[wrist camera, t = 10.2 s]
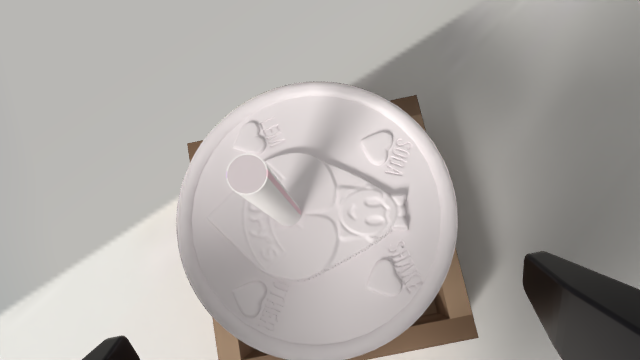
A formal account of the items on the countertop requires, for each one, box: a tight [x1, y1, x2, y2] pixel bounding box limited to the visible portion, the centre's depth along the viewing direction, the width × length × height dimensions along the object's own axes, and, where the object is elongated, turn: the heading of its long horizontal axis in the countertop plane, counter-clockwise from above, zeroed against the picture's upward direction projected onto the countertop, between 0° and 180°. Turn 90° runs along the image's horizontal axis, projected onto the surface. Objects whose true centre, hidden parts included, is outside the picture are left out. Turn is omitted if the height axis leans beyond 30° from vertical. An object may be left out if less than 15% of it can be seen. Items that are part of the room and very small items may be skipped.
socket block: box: [187, 95, 478, 360], centre depth 19 cm, size 9×9×3 cm
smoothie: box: [176, 82, 458, 360], centre depth 13 cm, size 6×6×14 cm
